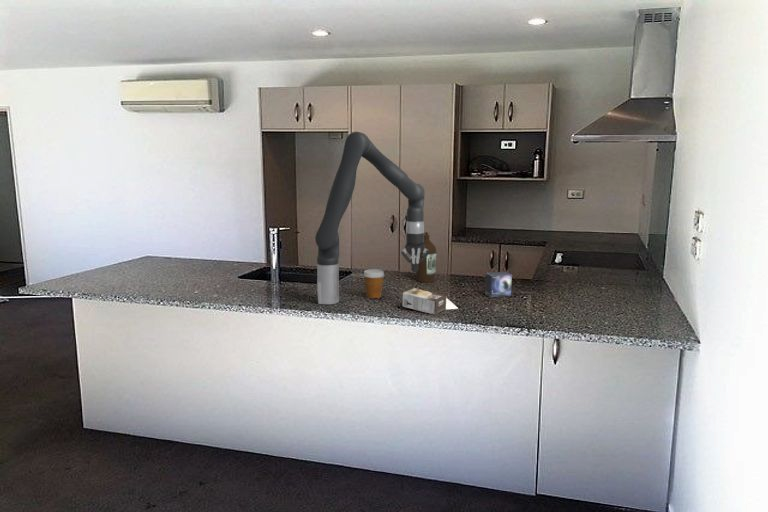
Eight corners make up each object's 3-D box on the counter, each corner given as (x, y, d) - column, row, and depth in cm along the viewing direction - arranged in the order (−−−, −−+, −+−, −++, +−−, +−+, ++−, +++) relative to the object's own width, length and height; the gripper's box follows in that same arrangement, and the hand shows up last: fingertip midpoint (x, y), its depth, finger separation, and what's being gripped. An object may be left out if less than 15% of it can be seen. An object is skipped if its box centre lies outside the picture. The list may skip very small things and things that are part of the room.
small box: (490, 298, 261) (491, 275, 260) (484, 295, 268) (484, 272, 266) (511, 296, 264) (512, 274, 262) (505, 293, 270) (505, 271, 269)
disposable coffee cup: (360, 295, 267) (360, 270, 265) (380, 293, 270) (380, 268, 268) (367, 300, 258) (367, 274, 256) (387, 298, 262) (387, 272, 259)
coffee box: (414, 287, 249) (447, 295, 241) (413, 301, 251) (446, 309, 242) (402, 292, 242) (436, 300, 233) (401, 307, 244) (435, 315, 235)
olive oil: (410, 280, 297) (411, 232, 292) (424, 277, 304) (425, 230, 300) (426, 284, 289) (426, 234, 285) (440, 280, 297) (441, 232, 292)
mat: (420, 310, 242) (420, 309, 242) (411, 299, 259) (411, 299, 259) (457, 308, 244) (457, 307, 244) (446, 298, 262) (446, 297, 262)
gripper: (401, 233, 240) (401, 274, 243) (432, 232, 242) (432, 273, 245) (397, 231, 247) (397, 270, 250) (428, 230, 249) (427, 269, 252)
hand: (414, 272), depth 248 cm, fingers closed
